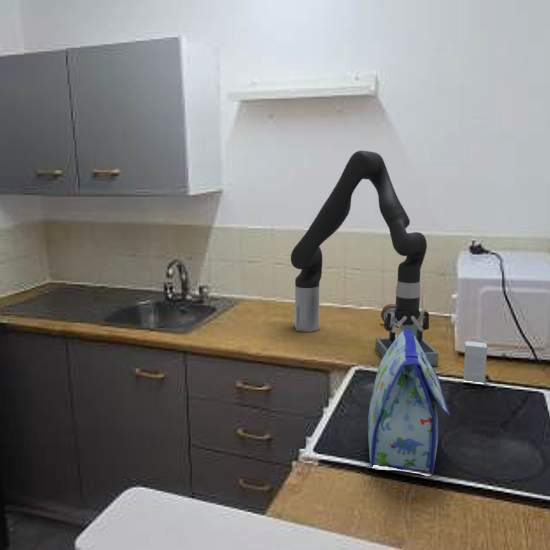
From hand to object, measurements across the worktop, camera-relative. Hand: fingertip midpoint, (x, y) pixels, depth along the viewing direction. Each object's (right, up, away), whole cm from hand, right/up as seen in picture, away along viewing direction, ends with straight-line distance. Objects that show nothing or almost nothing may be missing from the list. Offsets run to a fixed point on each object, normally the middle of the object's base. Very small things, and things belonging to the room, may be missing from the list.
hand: (405, 342), depth 182 cm
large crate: (0, -6, +1) cm, 6 cm away
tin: (+6, +2, +36) cm, 37 cm away
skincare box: (+16, -10, -18) cm, 26 cm away
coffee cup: (+6, -2, +18) cm, 19 cm away
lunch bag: (-13, -19, -55) cm, 59 cm away
